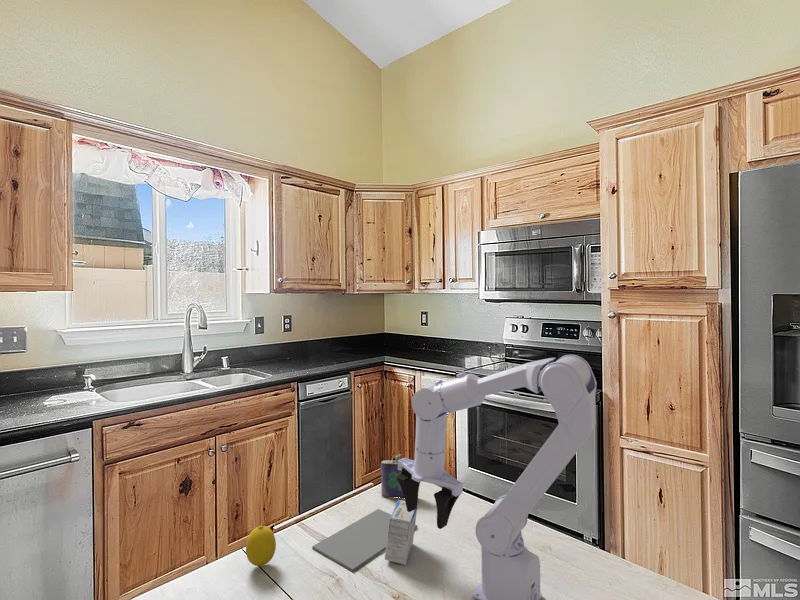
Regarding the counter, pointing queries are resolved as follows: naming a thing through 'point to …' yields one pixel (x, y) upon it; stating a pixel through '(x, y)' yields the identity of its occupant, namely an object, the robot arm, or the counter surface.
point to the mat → (357, 541)
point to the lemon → (260, 546)
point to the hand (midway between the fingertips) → (426, 517)
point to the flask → (390, 478)
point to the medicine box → (400, 533)
